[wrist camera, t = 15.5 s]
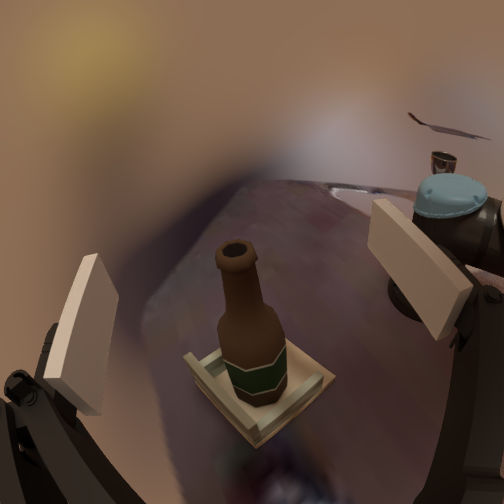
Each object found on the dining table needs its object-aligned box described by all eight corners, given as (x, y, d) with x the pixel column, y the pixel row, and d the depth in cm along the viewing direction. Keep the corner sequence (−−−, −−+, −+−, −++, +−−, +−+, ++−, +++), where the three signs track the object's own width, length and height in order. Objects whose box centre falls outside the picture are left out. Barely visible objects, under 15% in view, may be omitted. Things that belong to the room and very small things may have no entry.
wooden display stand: (272, 331, 49) (268, 297, 44) (334, 380, 40) (341, 349, 35) (197, 385, 42) (181, 356, 37) (256, 449, 33) (248, 430, 28)
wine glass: (420, 198, 79) (426, 151, 71) (436, 194, 81) (443, 150, 72) (437, 210, 73) (445, 161, 64) (453, 205, 74) (462, 159, 65)
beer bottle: (223, 381, 41) (175, 247, 26) (265, 354, 44) (246, 215, 30) (254, 419, 35) (217, 295, 21) (299, 387, 39) (300, 249, 24)
